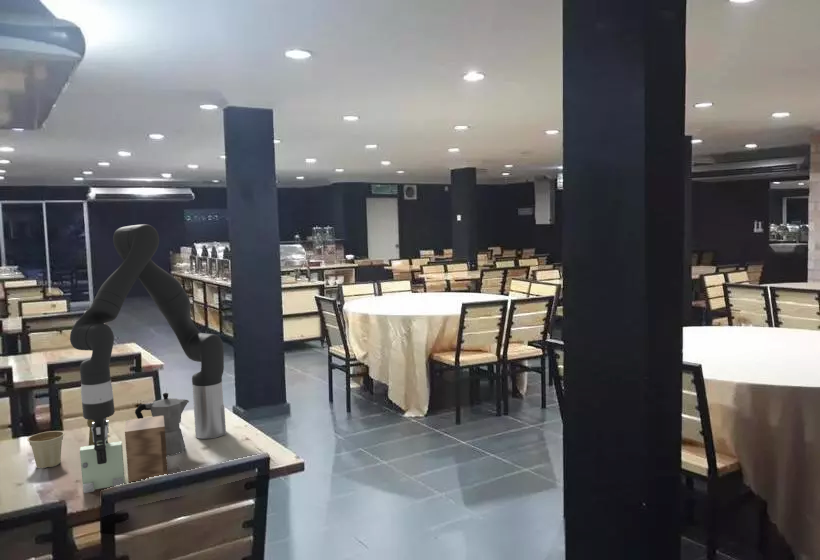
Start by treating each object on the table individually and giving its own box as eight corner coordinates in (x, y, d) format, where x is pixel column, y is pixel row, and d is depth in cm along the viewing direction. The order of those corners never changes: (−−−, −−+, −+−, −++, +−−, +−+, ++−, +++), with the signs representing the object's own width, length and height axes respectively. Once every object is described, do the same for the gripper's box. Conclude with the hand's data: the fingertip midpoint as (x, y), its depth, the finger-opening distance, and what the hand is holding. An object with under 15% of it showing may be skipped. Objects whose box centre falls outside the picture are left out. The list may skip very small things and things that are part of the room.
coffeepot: (189, 442, 209) (186, 386, 208) (194, 451, 201) (190, 393, 199) (137, 451, 203) (132, 393, 201) (139, 461, 194) (135, 401, 192)
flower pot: (39, 459, 198) (36, 431, 197) (72, 457, 199) (69, 429, 198) (23, 472, 189) (21, 442, 188) (58, 469, 190) (55, 440, 189)
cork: (101, 454, 201) (98, 419, 199) (83, 454, 202) (80, 418, 201) (114, 447, 206) (111, 413, 205) (96, 447, 208) (94, 412, 207)
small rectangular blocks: (123, 478, 182) (123, 470, 181) (123, 486, 176) (122, 477, 176) (85, 484, 178) (84, 476, 178) (83, 493, 173) (83, 484, 172)
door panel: (124, 480, 180) (121, 441, 179) (124, 485, 177) (121, 445, 176) (84, 487, 177) (80, 447, 176) (82, 492, 173) (79, 451, 172)
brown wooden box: (166, 462, 193) (163, 415, 191) (168, 475, 182) (164, 426, 181) (129, 468, 189) (125, 420, 187) (128, 482, 179) (124, 431, 177)
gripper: (112, 403, 169) (117, 464, 171) (114, 389, 183) (119, 446, 184) (79, 407, 167) (85, 470, 169) (83, 393, 180) (89, 451, 182)
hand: (103, 457), depth 176 cm, fingers open, 8 cm apart
